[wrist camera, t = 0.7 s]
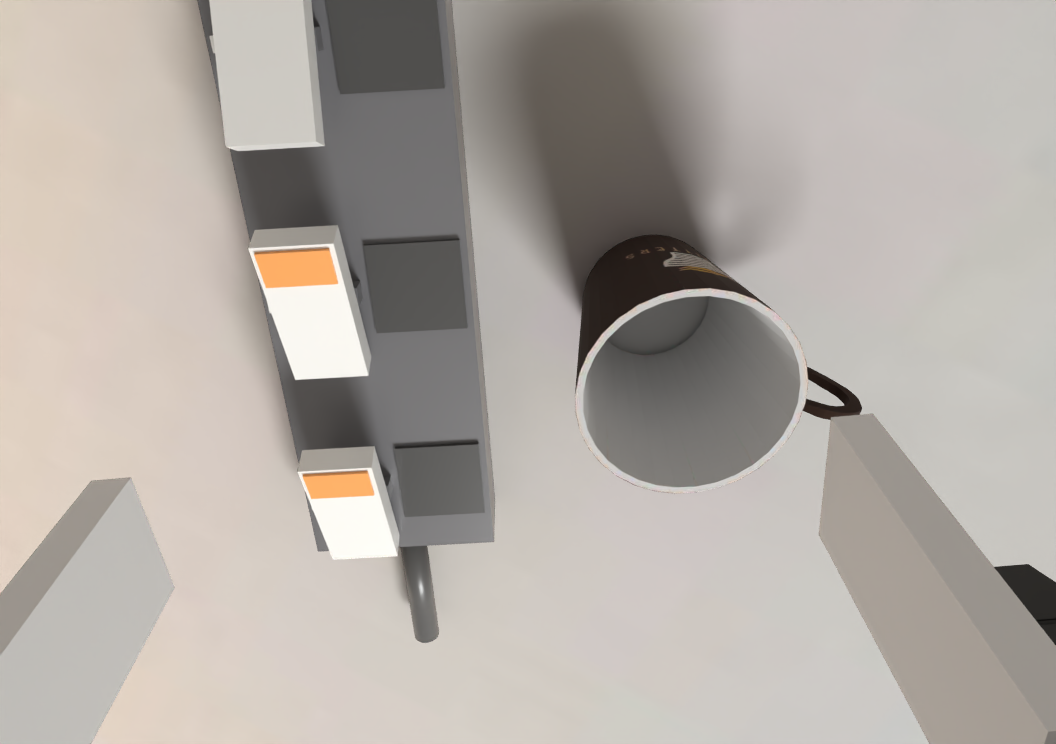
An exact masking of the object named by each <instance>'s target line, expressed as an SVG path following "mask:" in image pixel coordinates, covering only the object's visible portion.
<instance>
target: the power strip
mask: <svg viewBox="0 0 1056 744" xmlns="http://www.w3.org/2000/svg"><path fill="white" fill-rule="evenodd" d="M197 1H198V5H199V10H200V15H201V19H202V24H203V28H204V33H205V37H206V42H207V47H208V51H209V56H210V60H211V65H212V69H213V74H214V78H215V83H216V88H217V92H218V97H219V101H220V92H219V83H218V74H217V65H216V56H215V47H214V39H213V30H212V21H211V12H210V3H209V0H197ZM311 2H312V13H313V24H314V35H315V46H316V56H317V67H318V78H319V89H320V99H321V110H322V121H323V132H324V143H325V146H319V147H301V148H284V149H267V150H249V151H236V150H233V149H230V152H231V156H232V161H233V165H234V170H235V174H236V179H237V183H238V188H239V193H240V197H241V202H242V206H243V211H244V215H245V220H246V225H247V229H248V234H249V238H250V242H251V239H252V236H253V233H254V231H255V230H262V229H279V228H297V227H314V226H332V225H338V228H339V232H340V235H341V239H342V243H343V247H344V251H345V255H346V259H347V263H348V267H349V271H350V275H351V279H352V283H353V287H354V290H355V294H356V298H357V302H358V306H359V310H360V314H361V318H362V322H363V326H364V330H365V334H366V338H367V342H368V345H369V349H370V353H371V363H370V369H369V376H356V377H338V378H320V379H302V380H295V378H294V375H293V372H292V369H291V367H290V364H289V361H288V358H287V355H286V353H285V350H284V347H283V344H282V342H281V339H280V336H279V333H278V330H277V328H276V325H275V322H274V319H273V317H272V314H271V311H270V308H269V305H268V303H267V300H266V297H265V294H264V291H263V289H262V286H261V283H260V280H259V284H260V289H261V293H262V298H263V302H264V307H265V311H266V316H267V320H268V325H269V330H270V334H271V339H272V343H273V348H274V352H275V357H276V362H277V366H278V371H279V375H280V380H281V384H282V389H283V394H284V398H285V403H286V407H287V412H288V416H289V421H290V425H291V430H292V435H293V439H294V444H295V448H296V453H297V457H298V462H300V458H301V453H302V450H315V449H333V448H351V447H369V446H375V450H376V454H377V457H378V461H379V464H380V468H381V471H382V475H383V478H384V482H385V485H386V489H387V493H388V496H389V500H390V503H391V507H392V510H393V514H394V517H395V521H396V524H397V528H398V532H399V535H400V536H399V547H401V552H402V558H403V564H404V571H405V577H406V583H407V589H408V596H409V602H410V608H411V615H412V621H413V627H414V634H415V638H416V639H417V640H418V641H419V642H422V643H428V642H431V641H433V640H435V639H436V638H437V637H438V635H439V628H438V621H437V614H436V606H435V599H434V592H433V585H432V578H431V571H430V563H429V556H428V549H427V546H428V545H446V544H464V543H482V542H494V522H495V494H494V482H493V471H492V459H491V448H490V436H489V425H488V413H487V402H486V390H485V379H484V367H483V356H482V344H481V333H480V321H479V310H478V298H477V287H476V275H475V264H474V252H473V241H472V229H471V218H470V207H469V195H468V184H467V172H466V161H465V149H464V138H463V126H462V115H461V103H460V92H459V80H458V69H457V57H456V46H455V34H454V23H453V11H452V0H311ZM220 106H221V101H220ZM258 279H259V278H258ZM305 494H306V492H305ZM306 499H307V503H308V508H309V512H310V517H311V521H312V526H313V531H314V535H315V540H316V544H317V549H318V551H329V549H328V546H327V544H326V541H325V539H324V536H323V534H322V531H321V529H320V526H319V524H318V521H317V519H316V516H315V514H314V512H313V509H312V507H311V504H310V502H309V499H308V497H307V494H306Z"/></svg>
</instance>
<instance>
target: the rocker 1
mask: <svg viewBox="0 0 1056 744" xmlns="http://www.w3.org/2000/svg"><path fill="white" fill-rule="evenodd" d="M209 3H210V12H211V21H212V30H213V39H214V47H215V56H216V65H217V74H218V83H219V92H220V101H221V110H222V119H223V128H224V137H225V146H226V147H227V148H230V149H233V150H236V151H249V150H267V149H284V148H301V147H319V146H325V143H324V132H323V121H322V110H321V99H320V89H319V78H318V67H317V56H316V46H315V35H314V24H313V13H312V2H311V0H209Z"/></svg>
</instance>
